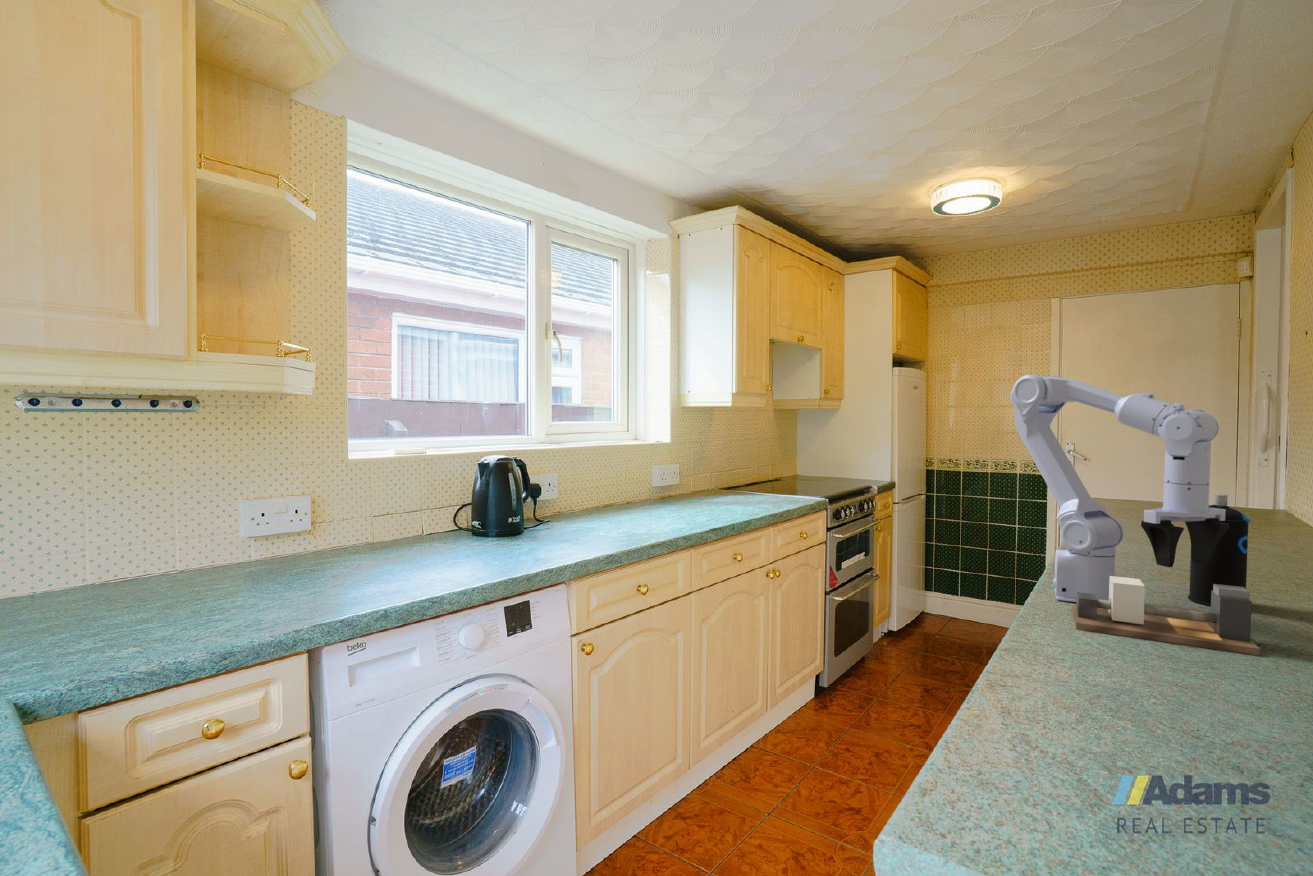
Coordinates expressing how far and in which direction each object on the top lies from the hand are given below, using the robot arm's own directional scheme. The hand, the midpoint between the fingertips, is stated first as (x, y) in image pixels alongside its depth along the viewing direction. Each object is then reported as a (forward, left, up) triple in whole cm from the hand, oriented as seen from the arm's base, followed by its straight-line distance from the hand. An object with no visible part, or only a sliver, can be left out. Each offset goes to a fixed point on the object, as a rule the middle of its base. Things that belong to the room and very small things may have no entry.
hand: (1182, 564), depth 103 cm
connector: (+4, -7, -10) cm, 13 cm away
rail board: (-4, -7, -10) cm, 13 cm away
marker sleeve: (-8, -7, -8) cm, 14 cm away
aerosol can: (+8, +18, -10) cm, 22 cm away
